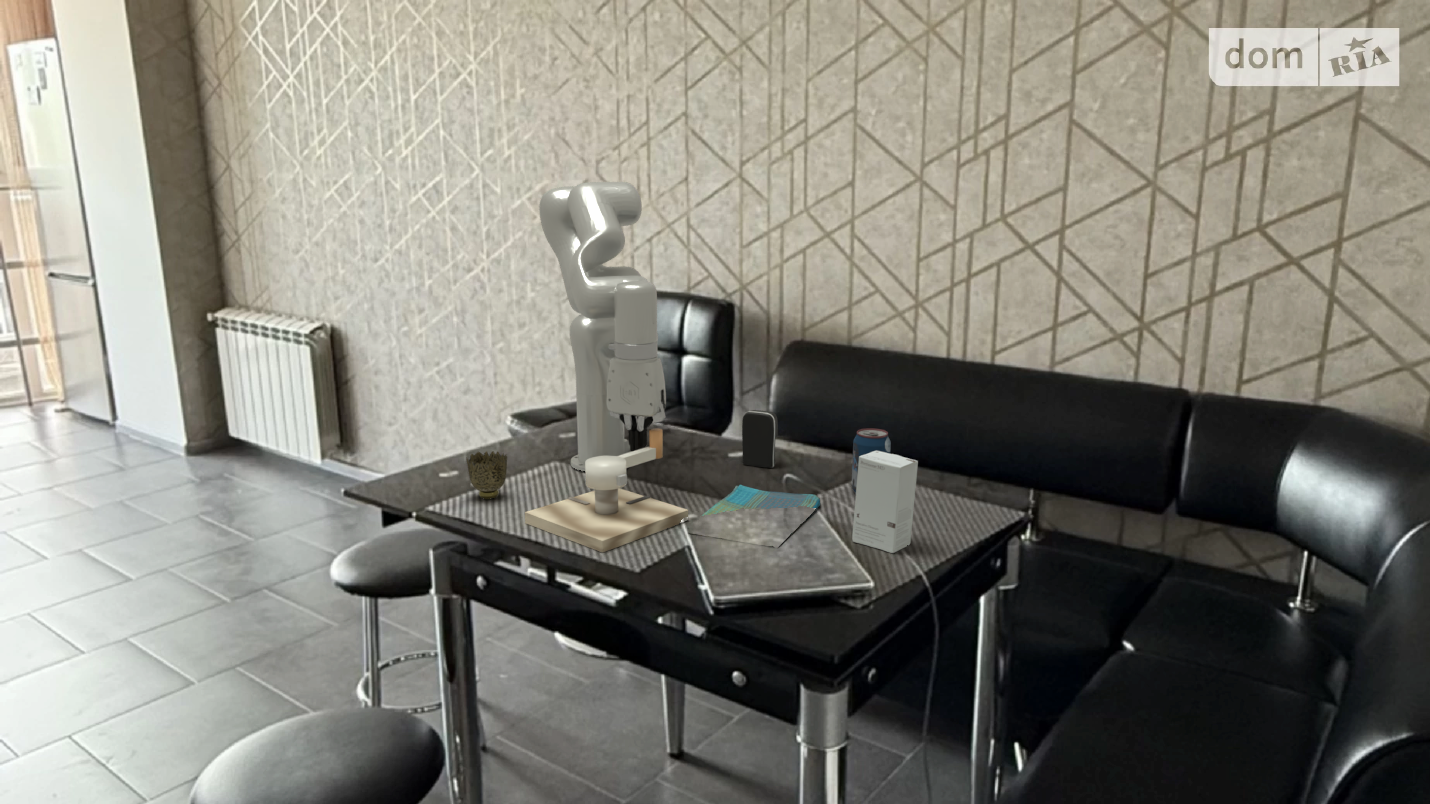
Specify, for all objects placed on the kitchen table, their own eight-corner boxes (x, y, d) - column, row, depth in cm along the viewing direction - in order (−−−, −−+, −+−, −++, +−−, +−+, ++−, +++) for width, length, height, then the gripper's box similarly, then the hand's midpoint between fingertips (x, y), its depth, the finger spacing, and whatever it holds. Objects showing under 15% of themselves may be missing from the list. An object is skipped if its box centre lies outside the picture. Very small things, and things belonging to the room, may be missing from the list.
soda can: (895, 493, 197) (898, 432, 194) (874, 502, 192) (877, 439, 189) (865, 485, 201) (867, 425, 199) (844, 493, 196) (846, 432, 194)
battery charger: (779, 464, 215) (780, 410, 212) (772, 469, 211) (773, 414, 208) (747, 460, 217) (748, 407, 215) (740, 465, 214) (741, 411, 211)
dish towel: (823, 507, 190) (823, 494, 190) (779, 552, 170) (779, 537, 169) (736, 495, 197) (736, 482, 196) (684, 536, 176) (684, 522, 176)
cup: (499, 505, 190) (497, 463, 188) (461, 502, 191) (459, 460, 189) (515, 492, 197) (513, 451, 195) (478, 489, 198) (476, 449, 196)
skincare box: (851, 542, 172) (854, 456, 169) (870, 532, 177) (874, 448, 173) (895, 555, 167) (899, 466, 163) (914, 544, 171) (918, 457, 168)
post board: (610, 495, 195) (610, 461, 193) (688, 520, 182) (688, 484, 180) (525, 523, 181) (523, 486, 179) (602, 552, 168) (601, 513, 166)
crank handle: (678, 470, 187) (677, 432, 185) (608, 493, 174) (607, 453, 173) (643, 461, 192) (643, 424, 191) (574, 483, 180) (573, 444, 178)
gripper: (589, 351, 185) (591, 450, 190) (665, 358, 180) (666, 460, 184) (609, 344, 192) (611, 440, 196) (683, 350, 186) (683, 449, 191)
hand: (637, 449), depth 190 cm, fingers closed
